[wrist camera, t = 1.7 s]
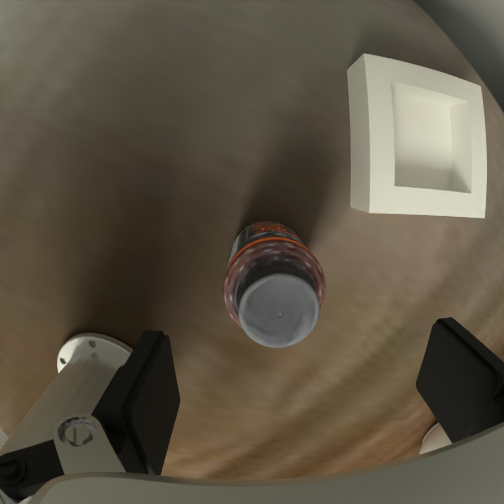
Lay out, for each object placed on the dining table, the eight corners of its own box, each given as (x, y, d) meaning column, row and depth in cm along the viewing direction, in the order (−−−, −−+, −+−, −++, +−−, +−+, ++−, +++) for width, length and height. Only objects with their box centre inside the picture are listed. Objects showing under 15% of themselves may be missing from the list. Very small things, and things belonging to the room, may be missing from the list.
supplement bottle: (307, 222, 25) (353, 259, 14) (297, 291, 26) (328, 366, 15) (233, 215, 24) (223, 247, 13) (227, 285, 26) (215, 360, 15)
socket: (457, 211, 24) (484, 218, 20) (350, 206, 24) (369, 212, 20) (455, 93, 22) (480, 86, 17) (346, 70, 21) (363, 53, 17)
